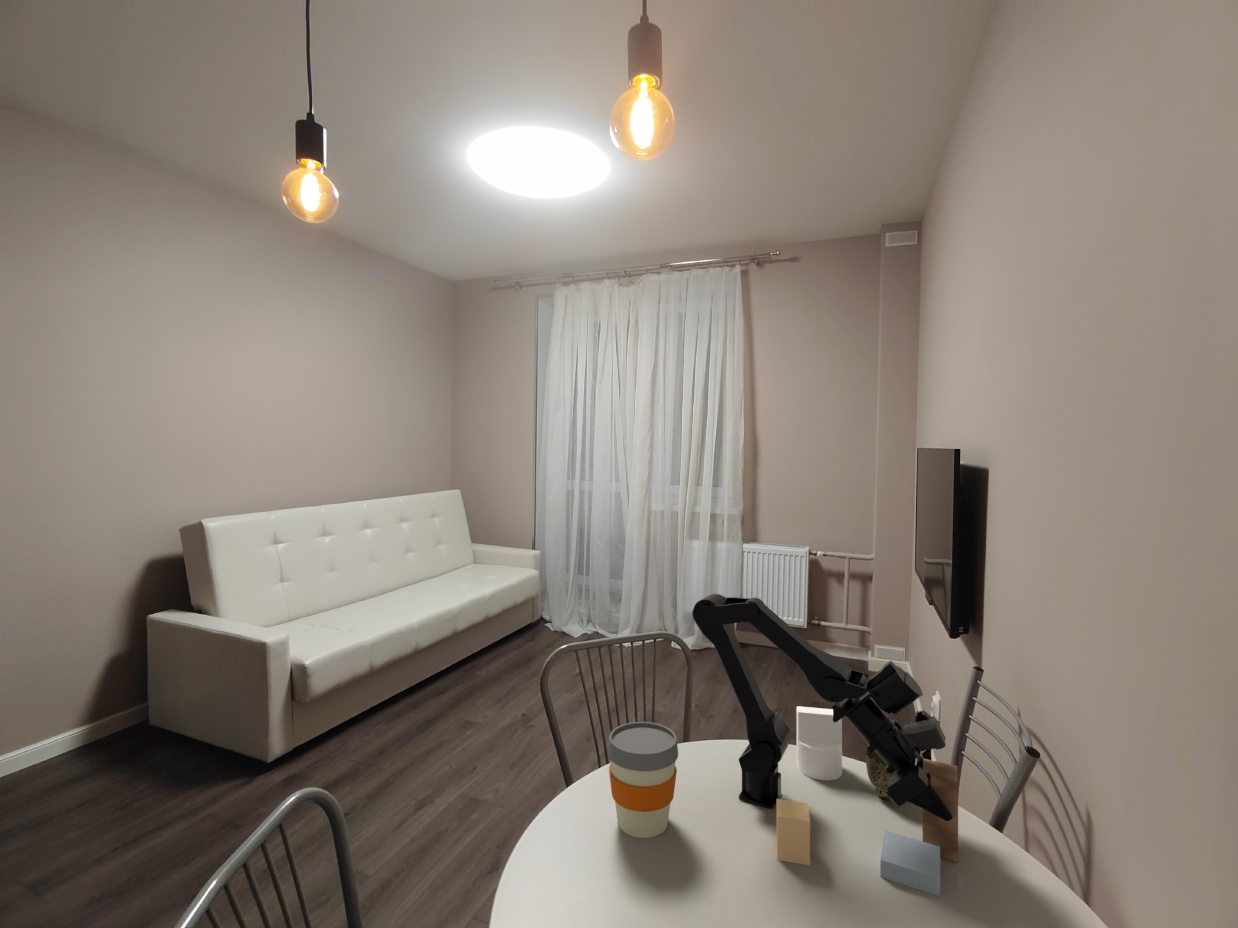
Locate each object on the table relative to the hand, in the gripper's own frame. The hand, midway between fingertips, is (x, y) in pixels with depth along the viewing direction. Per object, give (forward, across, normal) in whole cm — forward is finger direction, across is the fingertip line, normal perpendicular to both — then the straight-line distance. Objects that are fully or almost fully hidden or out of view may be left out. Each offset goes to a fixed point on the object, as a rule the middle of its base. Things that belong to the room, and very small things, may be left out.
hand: (949, 810), depth 93 cm
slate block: (+1, -8, +9) cm, 12 cm away
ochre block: (-11, -13, +21) cm, 27 cm away
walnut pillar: (+4, 0, +6) cm, 7 cm away
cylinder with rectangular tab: (-12, +16, +21) cm, 29 cm away
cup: (-3, +12, +12) cm, 17 cm away
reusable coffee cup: (-29, -18, +38) cm, 51 cm away
